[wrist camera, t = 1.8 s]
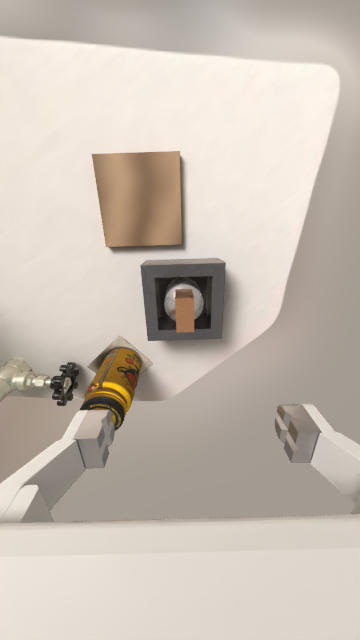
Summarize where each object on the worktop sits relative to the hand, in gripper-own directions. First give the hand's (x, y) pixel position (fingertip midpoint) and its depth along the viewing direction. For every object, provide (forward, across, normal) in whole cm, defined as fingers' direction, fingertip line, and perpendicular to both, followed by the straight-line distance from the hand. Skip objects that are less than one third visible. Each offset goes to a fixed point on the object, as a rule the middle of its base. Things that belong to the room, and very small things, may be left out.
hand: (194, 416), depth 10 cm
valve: (+23, +24, +12) cm, 36 cm away
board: (+23, +5, -12) cm, 26 cm away
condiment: (+23, +11, +12) cm, 28 cm away
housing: (+23, 0, 0) cm, 23 cm away
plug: (+23, 0, 0) cm, 23 cm away
